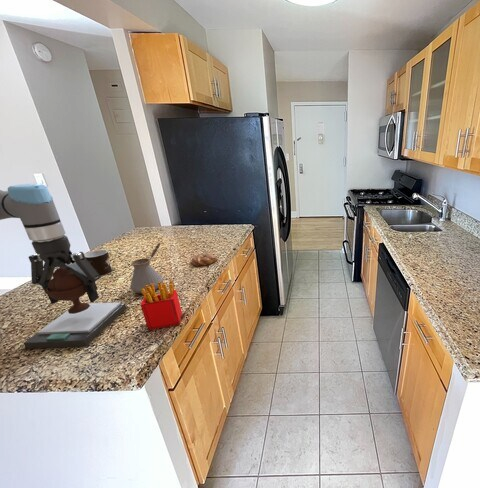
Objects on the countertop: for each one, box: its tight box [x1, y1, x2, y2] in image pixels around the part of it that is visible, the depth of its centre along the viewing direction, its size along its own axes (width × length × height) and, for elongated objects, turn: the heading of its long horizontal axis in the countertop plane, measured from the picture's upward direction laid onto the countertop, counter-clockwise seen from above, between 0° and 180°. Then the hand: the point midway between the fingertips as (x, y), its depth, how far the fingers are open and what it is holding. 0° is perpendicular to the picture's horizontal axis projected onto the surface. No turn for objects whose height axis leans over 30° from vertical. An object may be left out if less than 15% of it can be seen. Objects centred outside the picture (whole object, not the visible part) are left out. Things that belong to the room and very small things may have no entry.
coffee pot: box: [129, 242, 164, 295], centre depth 110 cm, size 21×12×15 cm, turn 3°
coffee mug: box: [84, 249, 112, 276], centre depth 118 cm, size 12×9×10 cm
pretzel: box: [191, 253, 218, 267], centre depth 132 cm, size 12×11×4 cm
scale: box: [22, 301, 127, 350], centre depth 86 cm, size 17×19×3 cm
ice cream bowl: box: [43, 267, 90, 314], centre depth 83 cm, size 11×11×15 cm
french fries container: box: [140, 280, 183, 331], centre depth 86 cm, size 7×9×14 cm
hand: (75, 300), depth 84 cm, fingers closed on ice cream bowl, 11 cm apart
